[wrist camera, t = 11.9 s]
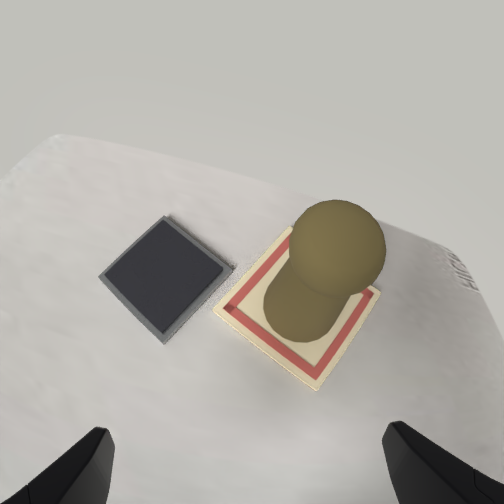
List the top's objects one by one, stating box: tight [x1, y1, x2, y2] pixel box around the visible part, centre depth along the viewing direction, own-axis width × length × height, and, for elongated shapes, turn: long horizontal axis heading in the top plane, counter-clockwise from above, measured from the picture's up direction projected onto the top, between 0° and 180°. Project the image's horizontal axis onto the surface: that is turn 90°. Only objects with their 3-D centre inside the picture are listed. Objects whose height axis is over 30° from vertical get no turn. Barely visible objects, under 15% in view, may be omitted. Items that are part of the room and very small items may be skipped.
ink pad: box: [98, 216, 232, 344], centre depth 25 cm, size 8×8×1 cm
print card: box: [212, 226, 381, 391], centre depth 25 cm, size 10×10×1 cm
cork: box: [263, 200, 386, 343], centre depth 19 cm, size 6×6×11 cm
